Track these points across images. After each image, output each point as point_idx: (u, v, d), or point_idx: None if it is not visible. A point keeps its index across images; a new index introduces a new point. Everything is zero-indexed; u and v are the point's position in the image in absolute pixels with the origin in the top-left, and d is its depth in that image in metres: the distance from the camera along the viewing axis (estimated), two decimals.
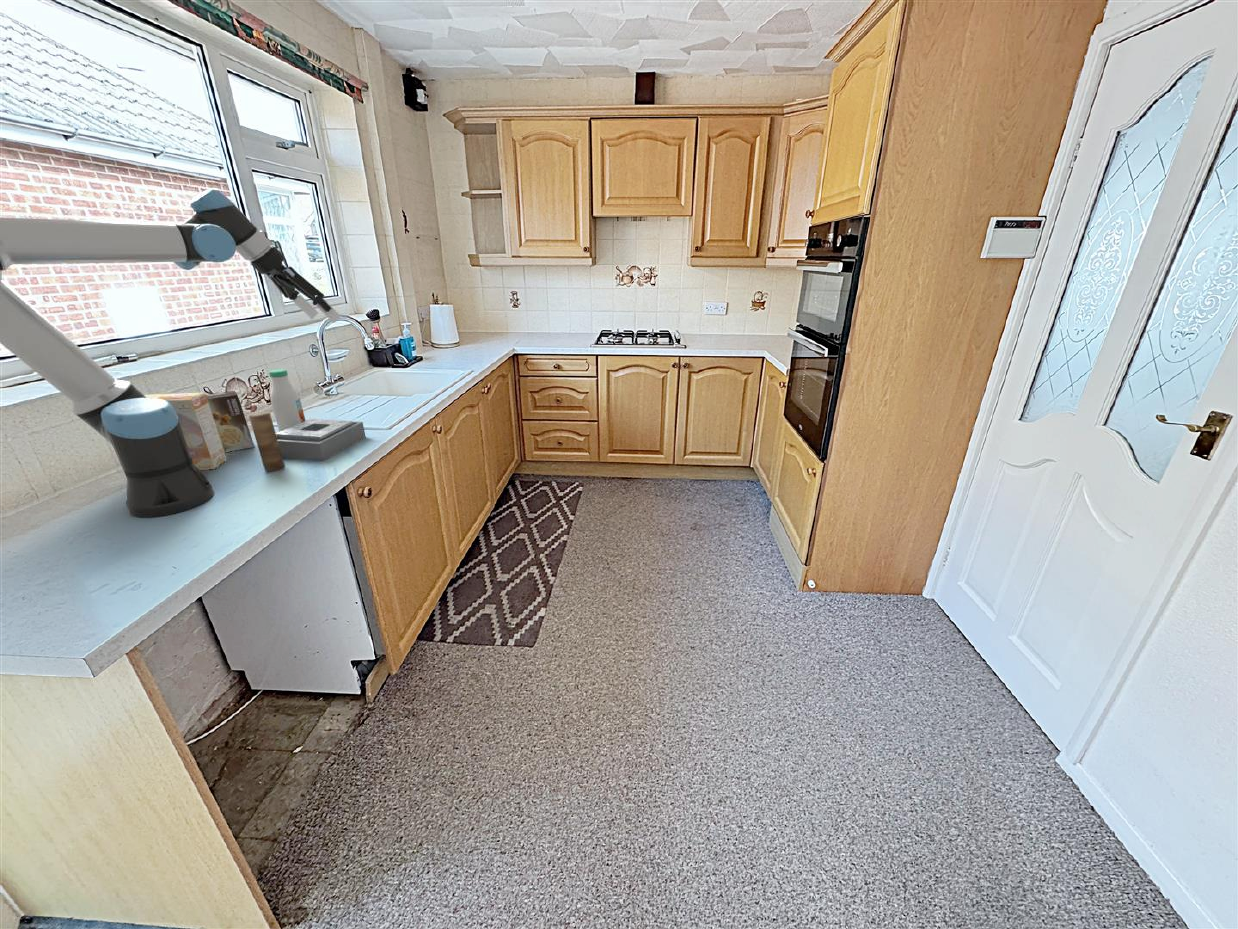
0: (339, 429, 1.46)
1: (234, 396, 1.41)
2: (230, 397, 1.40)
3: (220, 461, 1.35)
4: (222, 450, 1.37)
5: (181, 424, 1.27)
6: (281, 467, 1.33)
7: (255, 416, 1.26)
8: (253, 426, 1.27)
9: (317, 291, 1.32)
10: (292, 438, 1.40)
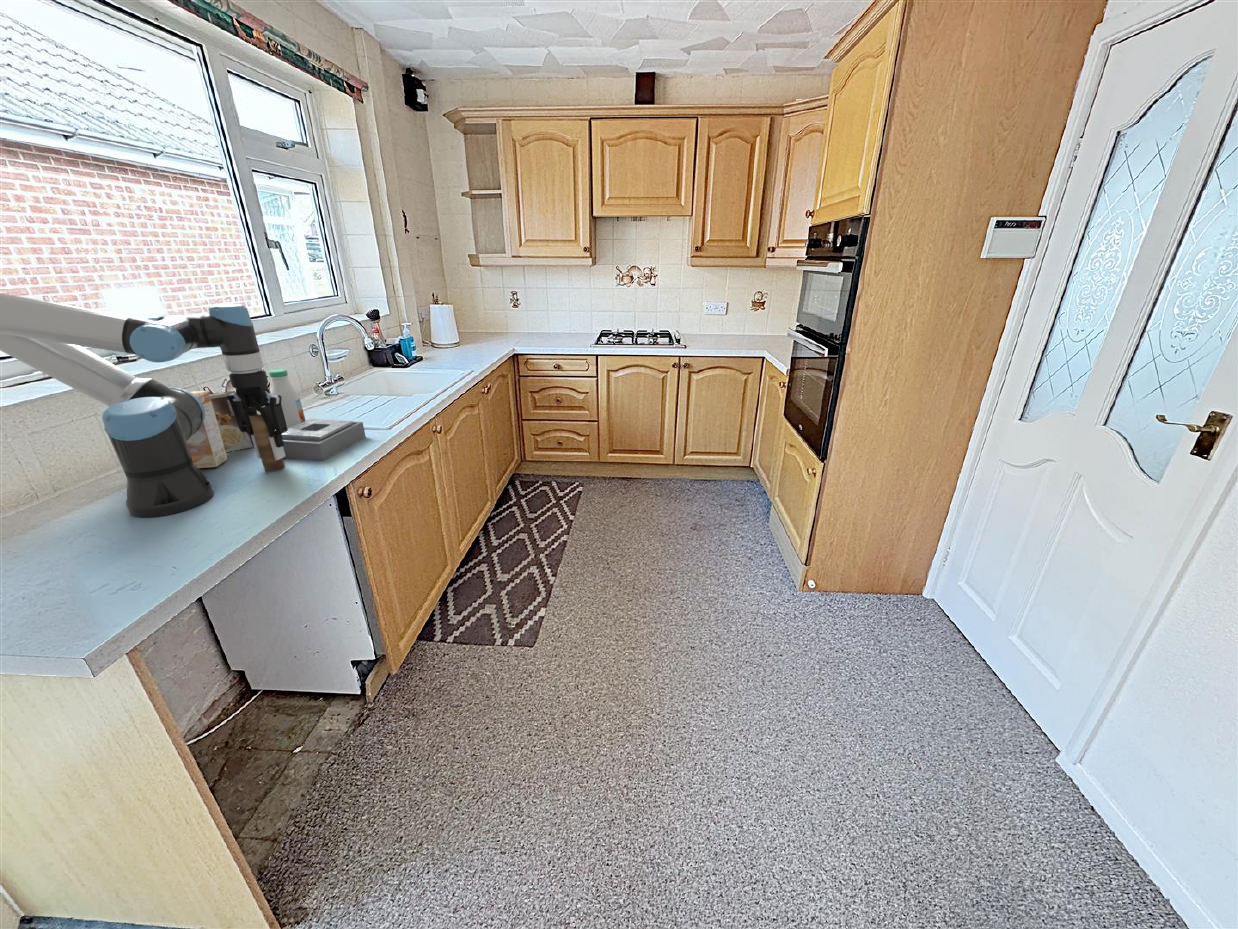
0: (339, 429, 1.46)
1: None
2: None
3: (222, 459, 1.36)
4: (223, 449, 1.37)
5: None
6: (281, 467, 1.33)
7: (255, 416, 1.26)
8: (253, 426, 1.27)
9: (285, 425, 1.29)
10: (292, 438, 1.40)
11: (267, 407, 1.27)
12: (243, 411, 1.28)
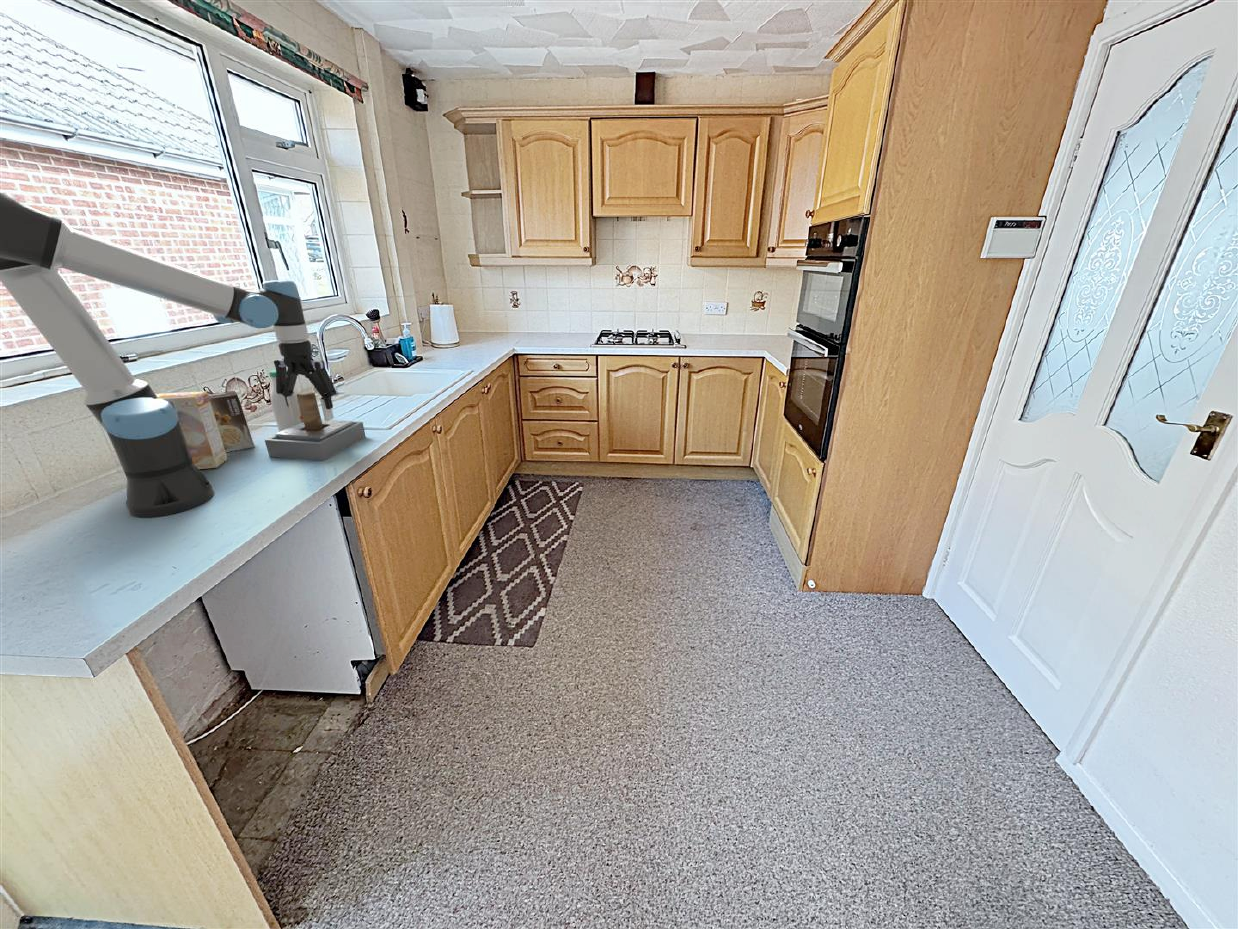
0: (339, 429, 1.46)
1: (234, 396, 1.41)
2: (230, 397, 1.40)
3: (222, 460, 1.36)
4: (223, 449, 1.37)
5: (184, 422, 1.27)
6: None
7: (302, 395, 1.41)
8: (300, 404, 1.41)
9: (333, 388, 1.41)
10: (292, 438, 1.40)
11: (313, 373, 1.40)
12: (284, 376, 1.41)
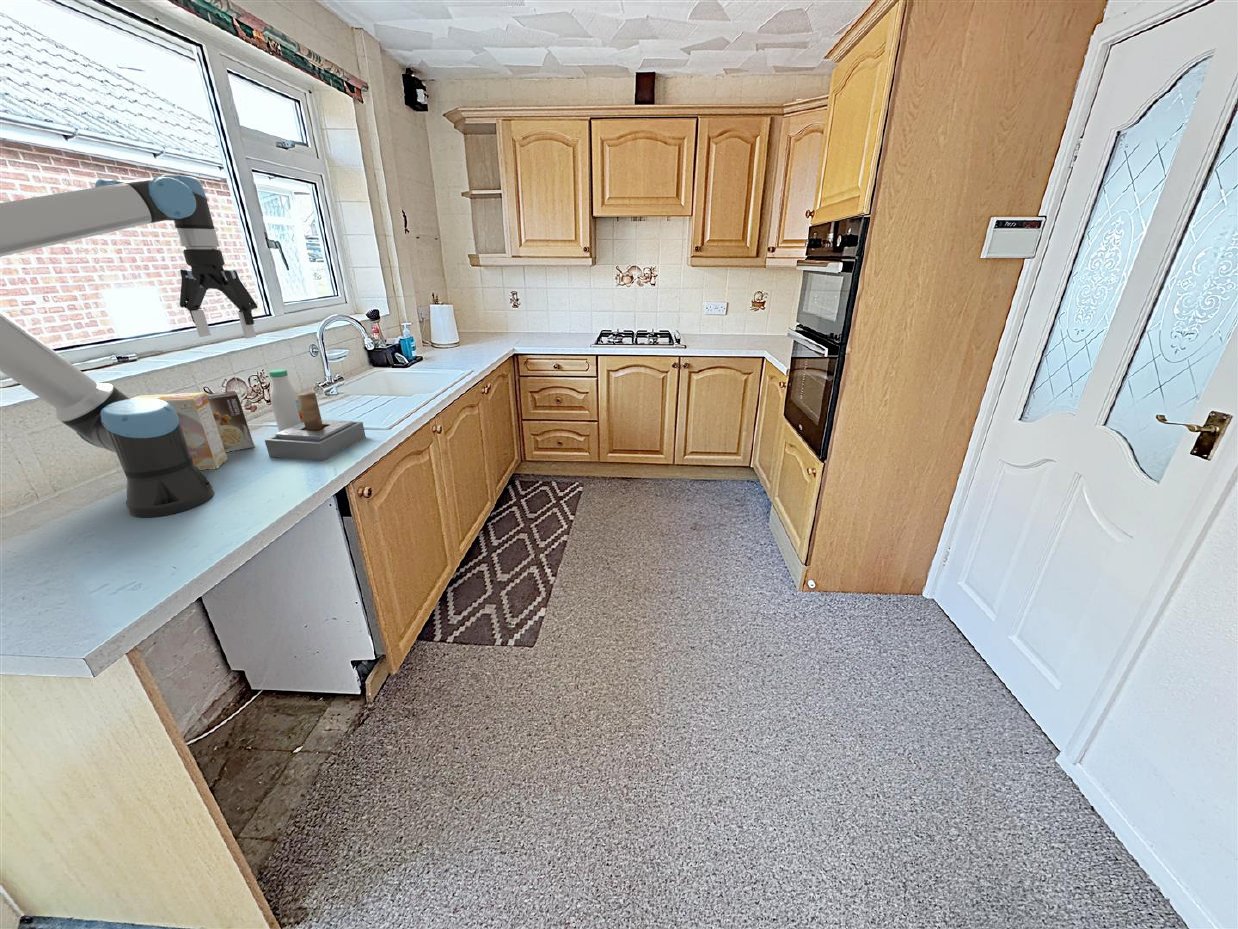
0: (339, 429, 1.46)
1: (234, 396, 1.41)
2: (230, 397, 1.40)
3: (222, 460, 1.36)
4: (223, 450, 1.37)
5: (183, 424, 1.27)
6: None
7: (303, 395, 1.41)
8: (301, 404, 1.41)
9: (252, 300, 1.26)
10: (292, 438, 1.40)
11: (227, 285, 1.25)
12: (191, 289, 1.27)
